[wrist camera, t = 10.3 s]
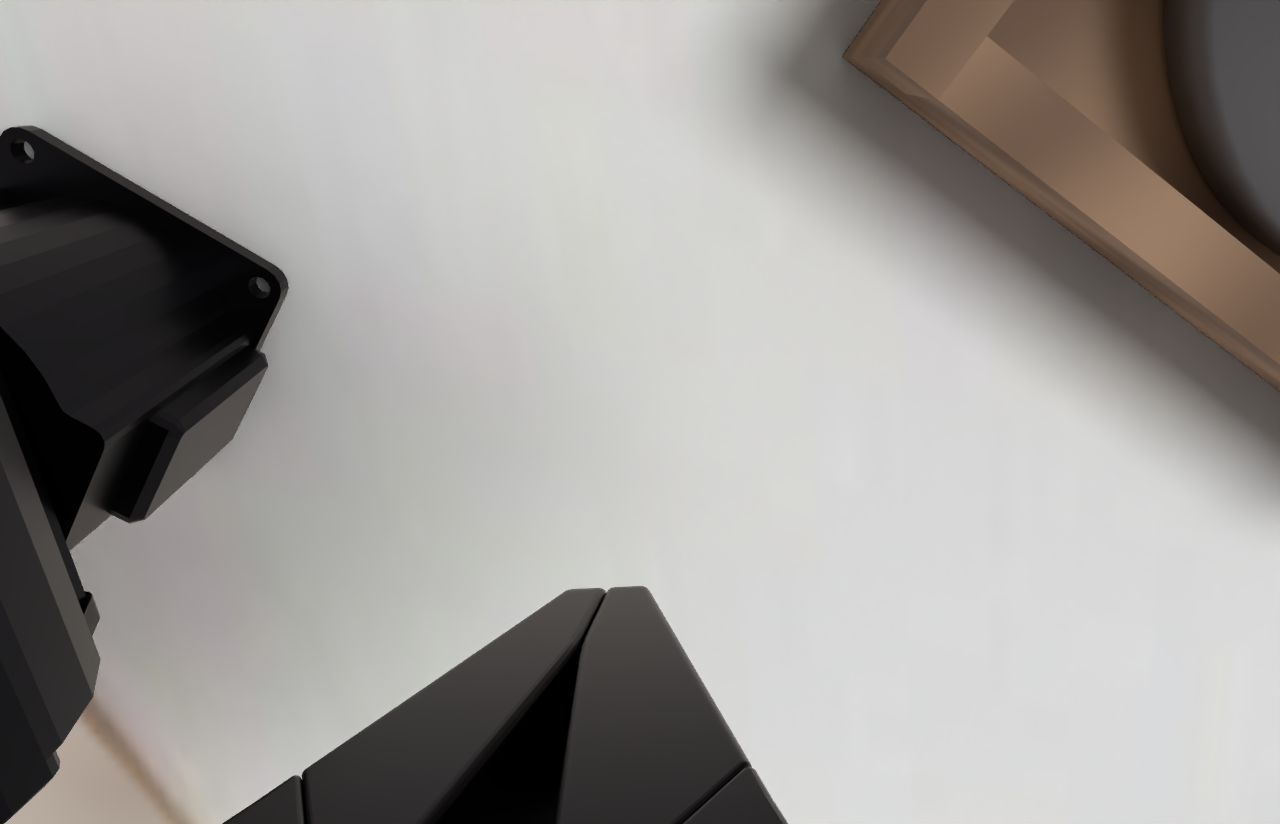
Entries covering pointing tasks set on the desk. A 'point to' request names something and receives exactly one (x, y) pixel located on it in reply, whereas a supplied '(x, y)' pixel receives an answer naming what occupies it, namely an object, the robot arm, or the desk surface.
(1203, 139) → the knob
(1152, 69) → the dial base
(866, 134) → the desk surface
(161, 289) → the robot arm
